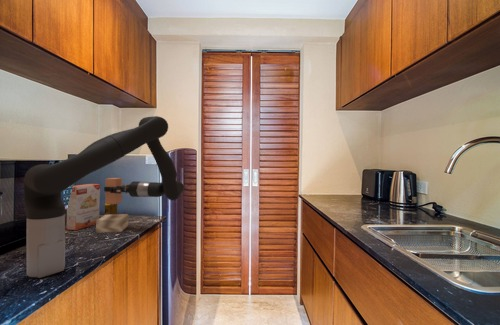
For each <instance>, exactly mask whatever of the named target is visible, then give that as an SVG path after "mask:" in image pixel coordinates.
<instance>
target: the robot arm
mask: <svg viewBox="0 0 500 325" xmlns="http://www.w3.org/2000/svg"><path fill="white" fill-rule="evenodd" d="M168 130H169V124H168V121H167V120H166V119H165V118H163V117H161V116H157V115H155V116H148V117H147V116H146V117H145V116H144V117H143V118H141V119H140V120H139V122H138V126H136V127H133V128H130V129H125V130H122V131H118V132H115V133H111V134H109V135H106V136H104V137H102V138H100V139H98V140H96V141H93V142H92V143H90V144H89V145H88V146H87V147H85V148H84V149H83V150H82V151H80V152H79V153H77V154H76V155H74V156H72V157H68V158H66V159H63V160H61V161H58V162H55V163H53V164H52V163H51V164H47V163H43V164H42V163H41V164H37V165H34V166H32V167H30V168H28V170H27V171H26V172H25V174H24V177H23V202H24V209H25V211H26V276H28V277H30V278H38V279H40V278H44V277H48V276H51V275H53V274H57V273H60V272H62V271H65V268H66V205H65V204H64V202H63V200H62V192H63V191H65V190H67V188H68V187H70V186H74V184H75V183H77V182H79V180H82V179H83V178H84V177H86V176H88V175H90V174H91V173H94V172H96V171H98V170H100V169H102V168H105V167H106V166H108V165H111V164H112V163H114V162H116V161H118V160H120V159H122V158H123V157H125V156H126V155H128V154H130V153H132V152H134V151H135V150H137V149H139V148H140V147H142V146H144V145H145V144H146V145H147V148H148V149H149V151H150V152H151V155H152V156H153V158H154V160H155V163H156V166H157V168H158V171H159V173H160V177H161V179H162V182H155V181H154V182H153V181H151V182H150V181H131V183H130V184H122V186H117V187H106V186H104V188H103V190H104V192H105V193H106V192H110V193H119V194H120V193H122V194H129V196H130V197H132V198H134V197H135V198H137V197H138V198H152V197H153V198H159V197H162V196H165V197H166V198H167V199H168V200H169V201H175V200H177V199H179V197H180V196H181V194H182V193H183V191H184V189H185V186H184V183H183V182H181V181H180V180H177V177H178V172H177V170H176V167H175V164H174V161H173V159H172V158H171V156H170V154H168V152H167V151H166V150H165V148H164V146H163V145H162V143H161V141H160V138H162V137H164V136H165V135H166V134H167V132H168ZM119 187H120V188H119Z"/></svg>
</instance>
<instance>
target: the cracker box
mask: <svg viewBox="0 0 500 325" xmlns="http://www.w3.org/2000/svg"><path fill="white" fill-rule="evenodd" d="M72 186H73V187H72V192H71V195H70V198H69V203H68V208H67V207H66V227H65V230H69V231H78V230H81V229H85V228H88V227H91V226H93V225H94V226H96V220H98V219H99V218H100V205H101V204H100V203H101V202H100V201H101V200H100V199H101V184H99V183H87V184H78V185H72Z"/></svg>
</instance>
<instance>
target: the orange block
mask: <svg viewBox="0 0 500 325" xmlns="http://www.w3.org/2000/svg"><path fill="white" fill-rule="evenodd" d="M122 182H123V179H122V177H108V178H105V187H117V186H122V185H123V183H122ZM119 188H120V187H119ZM122 195H123V193H120V194H119V193H110V192H105V202H106V204H117V205H118V204H119V203H122V202H123V200H122V199H123V198H122V197H123V196H122Z"/></svg>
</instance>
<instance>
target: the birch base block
mask: <svg viewBox="0 0 500 325" xmlns="http://www.w3.org/2000/svg"><path fill="white" fill-rule="evenodd" d="M128 226H129V213H125V214H124V213H121V214H120V213H119V214H118V213H117V214H114V215H105V214H104V215H102V216H101V217H99V219H98V220H96V224H95V233H97V234H98V233H99V234H100V233H121V232H123V231H124V230H125V229H126V228H127V227H128Z"/></svg>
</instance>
